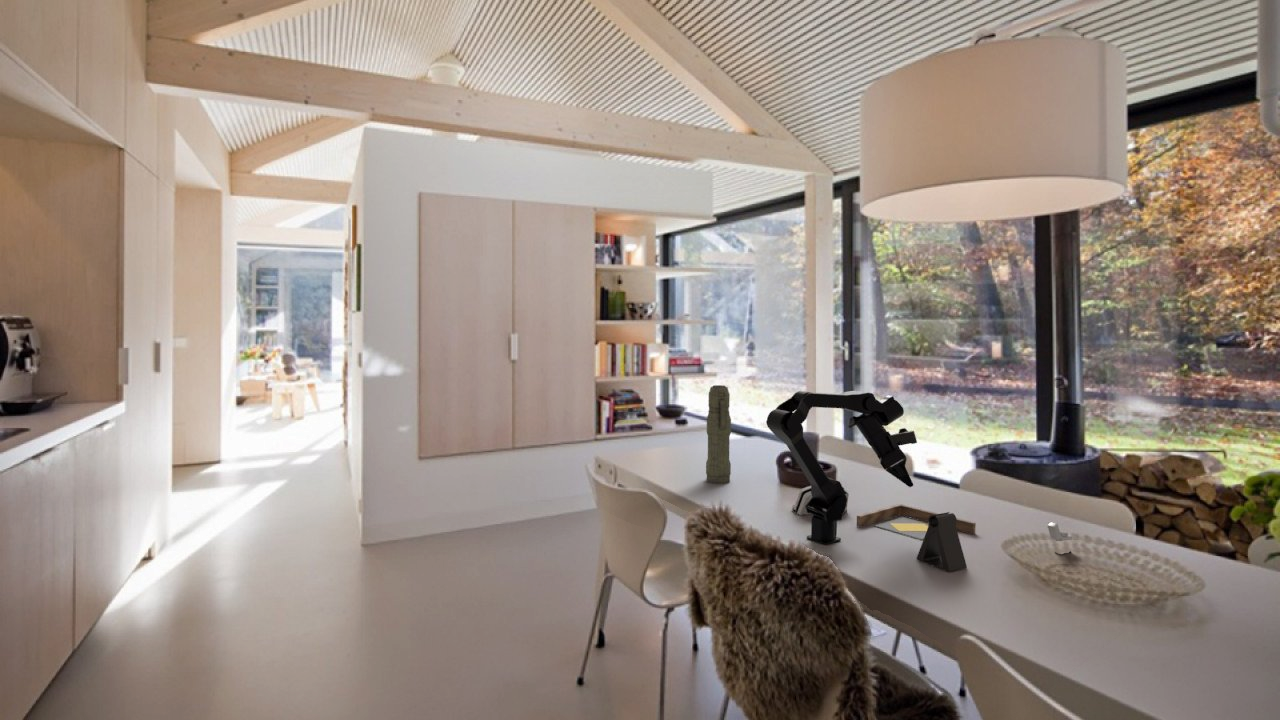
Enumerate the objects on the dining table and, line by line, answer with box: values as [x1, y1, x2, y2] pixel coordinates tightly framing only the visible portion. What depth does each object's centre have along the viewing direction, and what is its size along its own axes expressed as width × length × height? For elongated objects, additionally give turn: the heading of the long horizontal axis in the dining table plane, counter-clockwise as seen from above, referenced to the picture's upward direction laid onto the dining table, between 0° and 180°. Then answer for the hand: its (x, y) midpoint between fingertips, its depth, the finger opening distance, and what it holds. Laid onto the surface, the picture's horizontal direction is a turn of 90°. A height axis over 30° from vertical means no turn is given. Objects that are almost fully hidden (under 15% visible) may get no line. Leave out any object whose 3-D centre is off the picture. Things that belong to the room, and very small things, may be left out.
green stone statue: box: [705, 384, 732, 484], centre depth 228 cm, size 9×12×35 cm
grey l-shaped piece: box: [1047, 522, 1073, 541], centre depth 155 cm, size 7×2×8 cm, turn 113°
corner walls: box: [856, 503, 977, 535], centre depth 173 cm, size 21×23×3 cm
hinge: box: [791, 485, 849, 516], centre depth 190 cm, size 17×5×10 cm, turn 106°
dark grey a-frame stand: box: [916, 511, 968, 573], centre depth 147 cm, size 9×6×12 cm, turn 26°
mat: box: [874, 516, 929, 541], centre depth 174 cm, size 14×14×1 cm
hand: (910, 484), depth 164 cm, fingers open, 9 cm apart
